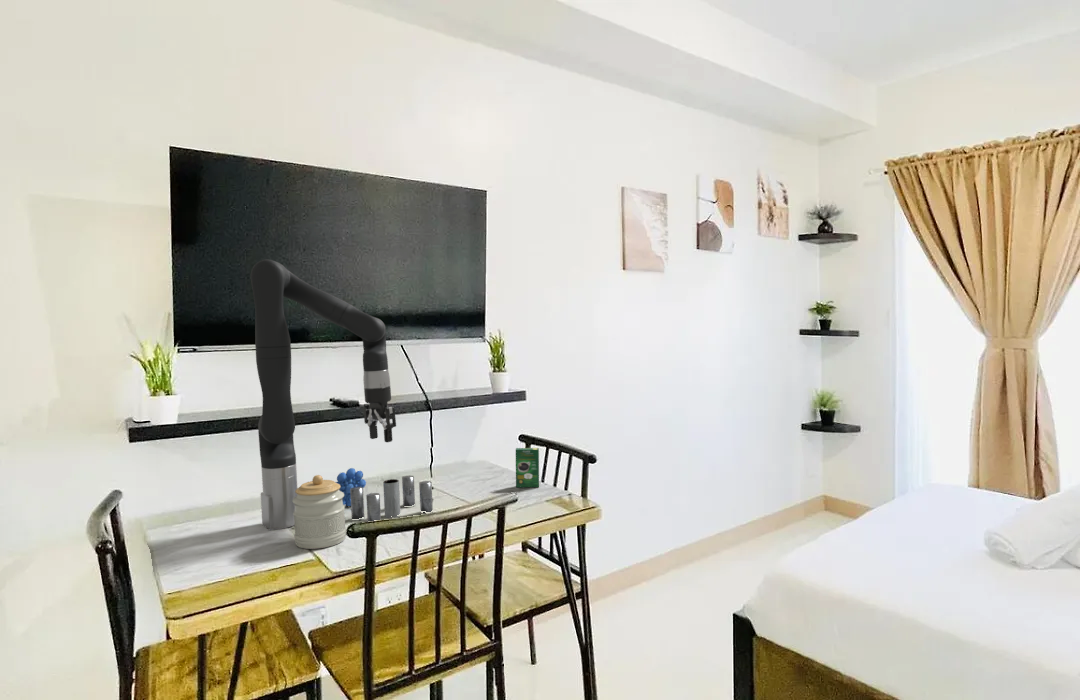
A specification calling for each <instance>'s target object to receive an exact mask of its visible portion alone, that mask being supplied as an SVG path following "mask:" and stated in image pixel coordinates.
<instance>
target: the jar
mask: <svg viewBox="0 0 1080 700" xmlns="http://www.w3.org/2000/svg"><path fill="white" fill-rule="evenodd" d="M335 482H336V481H334V480H332V479H324V478H323V476H322V475H320V474H316V475H313V477H312V480H311V481H307V482H304V483H302V484H301V485H300V486H298V487H297V489H296V490H295V492H296V494H297V496H296V497H294V498H293V500H292V502H293V503H294V504H295V510H294V512H293V515H294V542H295V545H296V547H298V548H300V549H307V550H317V549H324V548H328V547H333V546H335V545H338V544H341V543H342V542H343V541H344V540H345V539H346V535H347V528H346V527H347V526H346V517H345V513H346V512H345V508H346V505H345V506H344V504H343V501H342V498H343V497H344V493H343V492H342V491H340V490H339V489H340V487H341V486H340V484H338V483H335Z"/></svg>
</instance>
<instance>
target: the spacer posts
mask: <svg viewBox="0 0 1080 700" xmlns="http://www.w3.org/2000/svg"><path fill="white" fill-rule="evenodd" d="M401 482H402V483H401V484H402V506H403V505H404V506H412V505H414V504H415V505H416V497H415V496H416V494H415V493H416V492H415V476H414V475H411V474H410V475H404V476H402V477H401ZM418 484H419V485H418V486H419V487H418V488H419V502H420V503H419V506H420V507H419V508H420V509H419V510H421V511H426V512H431V511H432V510H433V509H434V508H433V490H432V489H433V487H432V481H429V480H423V481H420V482H419V483H418ZM350 495H351V507H350V508H351V509H350V510H351V520H352V519H359V518H362V517H364V518H365V502H364V501H365V499H364V488H363V487H353V488H351V489H350ZM365 496H366V513H367V516H366V517H367V522H368V521H374V520H380V519H381V520H382V517H381V515H382V514H381V495H380V493H378V492H371V493H368V494H366V495H365ZM423 513H425V512H423Z"/></svg>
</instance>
